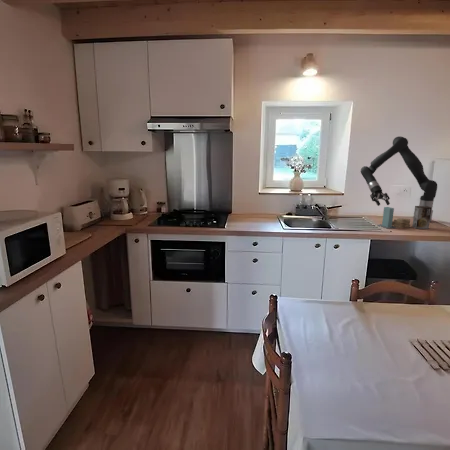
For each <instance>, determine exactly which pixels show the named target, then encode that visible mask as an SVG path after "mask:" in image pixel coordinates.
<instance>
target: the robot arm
mask: <svg viewBox="0 0 450 450" xmlns="http://www.w3.org/2000/svg"><path fill="white" fill-rule="evenodd" d="M398 153H399V155H400V156H401V158H402V159H403V162H404V164H405V165H406V167H407V168H408V169H409V171H410V172H411V174H412V175H413V177H414V178H415V180H416V182H417V184H418V186H419V188H420V189H421V190H422V191H423V194H422V195H421V196H420V198H419V205H418V206H429V207H431V208H432V209H431V216H430V222H432V220H433V212H434V210H433V208H434V206H433V205H434V201H435V198H436V195H437V191H438V182H437V181H435V180H432V179H429V178H428V177H427V176H426V174H425V171H424V165H423V164H422V163H423V162H421V160H420V158H419V157H418V156H417V155H416V154H415V153H414V152H413V151H412V150H411V149H410V148H409V140H408V138H406V137H405V136H396V137H394V138H393V139H392V146H390V147H389V148H388V149H387V150H385V151H384V152H382V153H380V154H379V155H378V156H377V157H375V158H374V159H373V160H371V162H370V166H367V165H366V166H362V167H360V168H361V169H360V174H361V175H362V177H363V179H364V180H365V182H366V184H367V186H368V189H369V190H370V193H371V194H369V195H370V199H371V201H372V202H374V203H375V204H376V205H377V206H378V207H379V206H381V202H380V201H379V200H383V201H385V204H386V206H389V205H390V204H391V203H390V201H389V200H390V199H391V198H390V196H389V194H388V193H387V192H385V193H383V189H382V187H381V185H380V183H379V181H377V179H376V177H375V175H373V174H375V173H376V171H377V170H378V169H379V168H380V167H381V166H382V165H383V164H384V163H386V161H388V160H389V159H390V158H392V157H393V156H395V155H396V154H398Z"/></svg>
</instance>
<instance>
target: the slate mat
mask: <svg viewBox="0 0 450 450" xmlns="http://www.w3.org/2000/svg"><path fill="white" fill-rule="evenodd" d="M377 226H378V227H380V226H381V228H384V229H388V230H390V229H397V227H394V226H392V227H386V226H383V225H382V224H377Z"/></svg>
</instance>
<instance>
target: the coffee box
mask: <svg viewBox="0 0 450 450" xmlns="http://www.w3.org/2000/svg"><path fill="white" fill-rule="evenodd" d="M431 209H432V210H433V207H432V208H431V207H429V206H419V205H415V206H414V211H413V212H414V213H413V217H412V218H413V219H412V220H413V221H412V228H414V229H416V230H417V229H419V230H421V229H422V230H423V229H424V230H429V228H430V216H431Z"/></svg>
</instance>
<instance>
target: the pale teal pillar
mask: <svg viewBox="0 0 450 450" xmlns="http://www.w3.org/2000/svg"><path fill="white" fill-rule="evenodd" d="M394 211H395V208H394V207H390V206H384V207H383V214H382V221H381V222H382V223H381V225H383V226H386V227H392V221H394V219H393V218H394V214H395V213H394Z"/></svg>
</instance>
